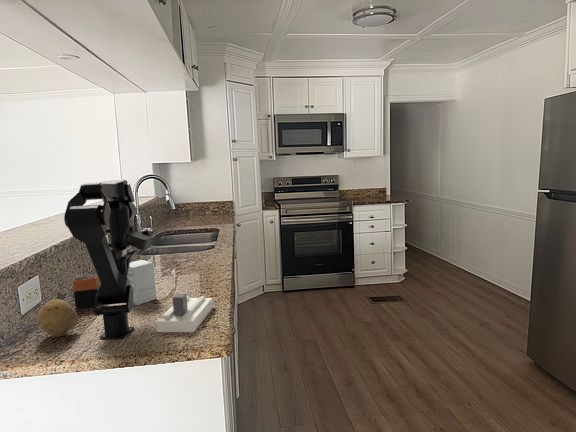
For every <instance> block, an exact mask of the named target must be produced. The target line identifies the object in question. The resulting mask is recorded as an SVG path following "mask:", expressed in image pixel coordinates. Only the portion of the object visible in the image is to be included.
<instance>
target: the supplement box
mask: <svg viewBox="0 0 576 432" xmlns="http://www.w3.org/2000/svg"><path fill="white" fill-rule="evenodd" d="M127 276H128V279H129V281H130V285H132V287H133V305H134V306H140V305H142V304H143V305H144V303H146V304H147V303H148V302H151V301H153V300H157V297H158V296H157V289H156V280H155V269H154V262H152V261H150V260H149V261H148V260H143V259H138V260H135V261H130V266H129V270H128V275H127Z"/></svg>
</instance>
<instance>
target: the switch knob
mask: <svg viewBox="0 0 576 432" xmlns="http://www.w3.org/2000/svg"><path fill="white" fill-rule="evenodd" d="M187 296H188V295H187V293H176V294H175V295H173V296H172V306H173V309H174V315H184V314H185V313H186V312H187V311H188V307H187Z"/></svg>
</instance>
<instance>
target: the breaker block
mask: <svg viewBox="0 0 576 432" xmlns="http://www.w3.org/2000/svg"><path fill="white" fill-rule="evenodd" d="M187 307H188V311H187V312H186V313H185V314H184V315H174V309H173V305H172V306H171V307H170V308H169V309H168V310H167V311H166V312H165V313H163V314H162V315H161V316H160V317H159V318H158V319H157V320H156V321H155V325H156V333H194V332H196V329H198V328H199V326H200V325H201V323H202V322H203V321H204V319H206V317H207V316H208V315H209V313H210V312H211V311H212V310H213V308H214V301H213V297H206V295H201V296H200V297H190V296H188V295H187Z"/></svg>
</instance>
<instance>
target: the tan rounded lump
mask: <svg viewBox="0 0 576 432" xmlns="http://www.w3.org/2000/svg"><path fill="white" fill-rule="evenodd" d="M36 319H37V320H36V322H37V323H36V324H37V325H38V327H39V328H40V329H41V330H42V331H44V332H45V333H47V334H48V335H50V336H52V337H56V338H58V337H62V336H64V335H66V334H67V333H68V332H69V331H70V330H72V329H73V328H74V327H76V325H77V324H78V322H79V315H78V314H77V312H76V310H74V308H73V306H72V305H71V304H70V303H68V302H67V301H65V300H64V299H60V298H56V299H55V298H53V299H51V300H49V301H48V302H46V303H45V304H44V305H42V307H41V308H40V310H39V312H38V314H37V318H36Z"/></svg>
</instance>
